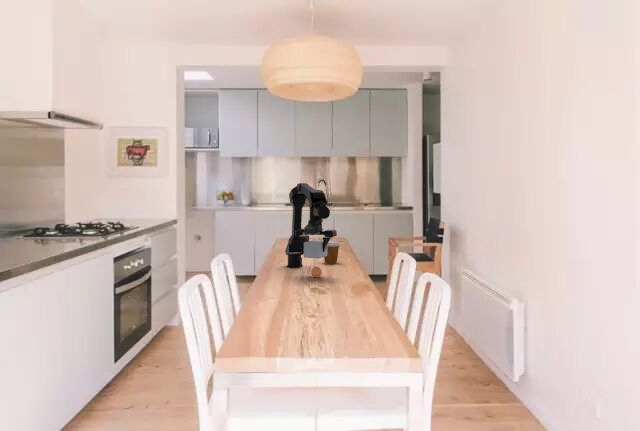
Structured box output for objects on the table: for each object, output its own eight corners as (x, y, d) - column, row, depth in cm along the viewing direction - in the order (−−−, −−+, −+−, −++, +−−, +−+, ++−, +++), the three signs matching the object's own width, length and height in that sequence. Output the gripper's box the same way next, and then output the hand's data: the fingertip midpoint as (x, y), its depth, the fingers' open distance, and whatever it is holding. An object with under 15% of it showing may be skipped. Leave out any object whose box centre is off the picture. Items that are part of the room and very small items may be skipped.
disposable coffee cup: (339, 265, 261) (340, 242, 260) (321, 265, 261) (322, 242, 260) (339, 262, 271) (339, 240, 270) (322, 262, 271) (322, 240, 270)
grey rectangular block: (303, 257, 224) (303, 242, 224) (312, 254, 234) (312, 240, 233) (319, 258, 222) (319, 243, 221) (327, 255, 231) (327, 240, 230)
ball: (311, 264, 230) (313, 270, 233) (308, 273, 227) (311, 279, 230) (321, 264, 228) (324, 271, 232) (319, 273, 225) (321, 280, 228)
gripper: (289, 218, 222) (289, 252, 223) (328, 219, 215) (328, 254, 216) (300, 216, 233) (300, 249, 234) (337, 217, 226) (337, 251, 227)
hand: (315, 251), depth 227 cm, fingers closed on grey rectangular block, 8 cm apart
